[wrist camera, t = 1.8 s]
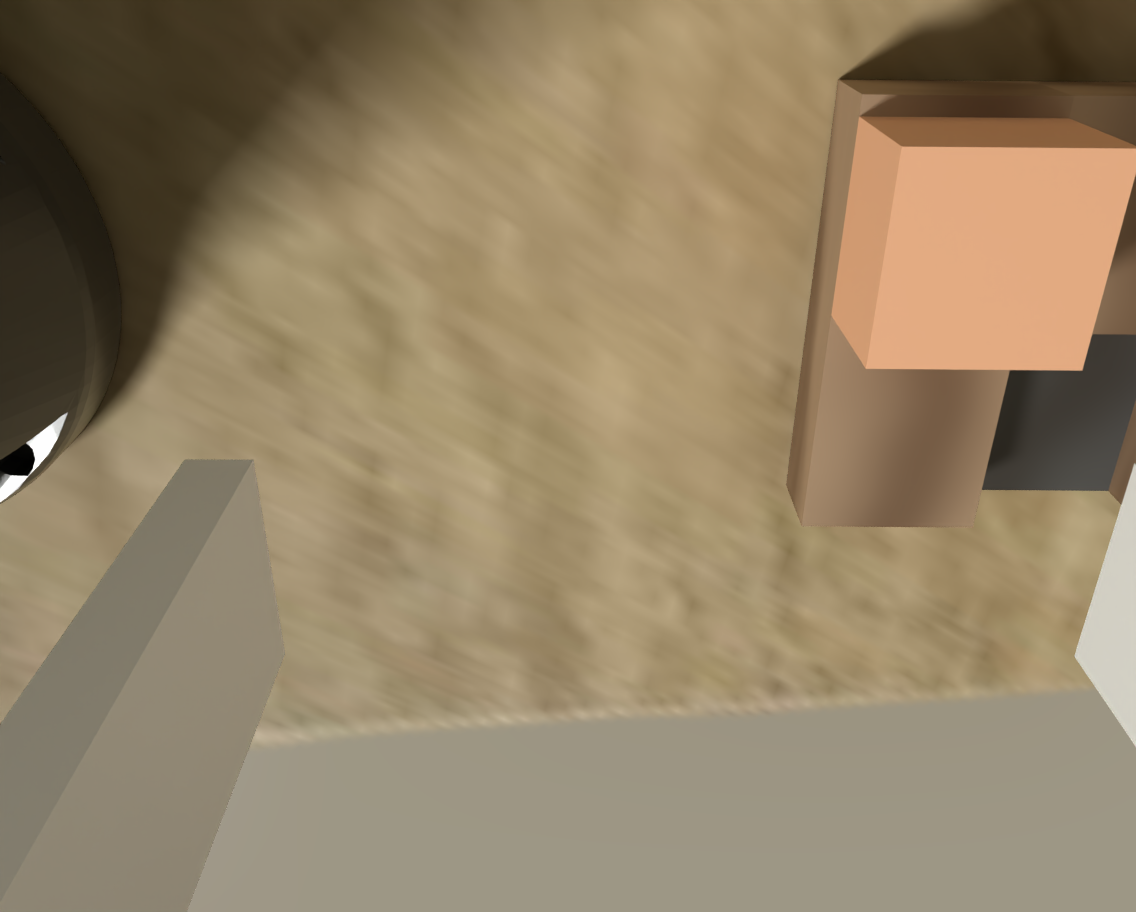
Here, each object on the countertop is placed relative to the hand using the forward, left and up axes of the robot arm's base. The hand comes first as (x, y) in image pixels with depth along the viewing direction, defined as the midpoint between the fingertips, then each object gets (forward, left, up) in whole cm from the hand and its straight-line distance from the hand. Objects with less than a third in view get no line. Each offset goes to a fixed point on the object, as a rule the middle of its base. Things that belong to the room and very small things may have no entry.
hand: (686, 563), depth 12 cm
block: (+8, 0, -15) cm, 17 cm away
